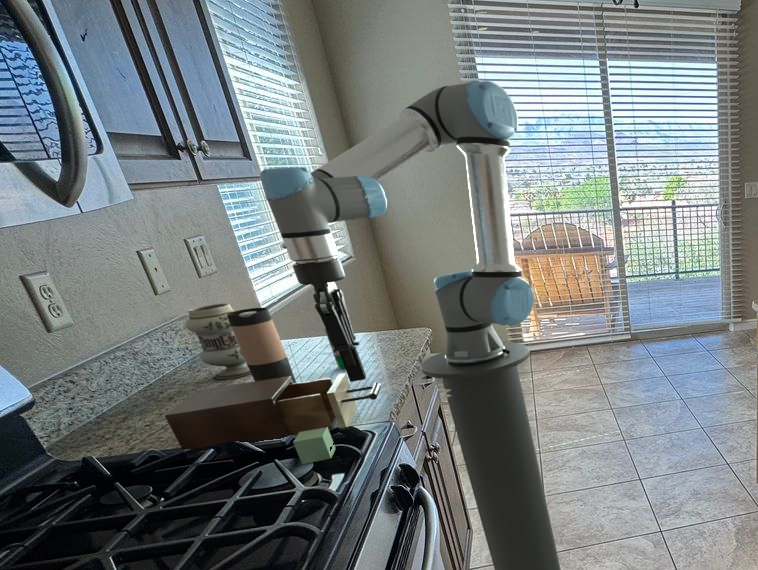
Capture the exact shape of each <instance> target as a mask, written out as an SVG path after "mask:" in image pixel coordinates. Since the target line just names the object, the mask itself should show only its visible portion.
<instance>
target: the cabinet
mask: <svg viewBox="0 0 758 570" xmlns="http://www.w3.org/2000/svg"><path fill="white" fill-rule="evenodd" d="M289 384H293V381H292V378H291V376H288V377H282V378H275V379H269V380H262V381H255V380H254V381H250V382H249V381H248V382H243V383H237V384H236V383H235V384H230V385H222V386H215V387H209V388H202V389H196V390H194V391H193V392H192V393H191V394H190V395H188V396H187V397H186V398H185V399H183V400H181V402H180V403H178V404H177V405H176V406H175V407H173V408H172V409H171V410H170V411H169V412H167V413H166V414H165V415H164V417H165V419H166V422H167V423H168V424H169V427H170V429H171V430H172V431H171V432H172V433H173V434H174V436H175V438H176V440H177V442H178V444H179V446H180V448H181V450H182V451H183V450H185V449H194V448H204V447H209V446H210V445H215V444H220V443H226V442H234V441H239V442H249V443H255V442H259V441H264V440H273V439H281V438H284V437H287V436H289V434H288V432H287V429H286V427H285V424H284V422H283V420H282V417H281V415H280V412H279V410H278V408H277V405H276V403H275V400H276V399H277V398H278V397H279V395H280V394H281V393H282V392H283V391H284V389H285V388H286V387H287V386H288V385H289ZM239 456H240V455H223V456H218V457H216V458H214V459H213V460H212V461H216V460H222V459H223V460H224V459H228V458H234V457H239Z"/></svg>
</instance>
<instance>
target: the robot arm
mask: <svg viewBox="0 0 758 570" xmlns="http://www.w3.org/2000/svg"><path fill="white" fill-rule="evenodd" d="M398 116H399V118H398V119H397V120H395V121H393V122H392V123H390V124H388V125H386V126H384V127H383V128H381V129H380V130H378V131H377V132H375V133H374V134H372V135H370V136H369V137H367V138H365V139H363V140H362V141H361V142H358V143H357V144H355V145H354V146H352V147H351V148H349V149H347V150H346V151H344V152H342V153H341V154H339V155H337V156H336V157H334V158H332V159H331V160H329V161H327V162H326V163H325V164H322V165H321V166H320V167H318V168H316V169H315V170H313V171H310V170H309V169H308V168H307V167H303V166H300V167H296V166H295V167H277V168H276V167H275V168H264V169H263V170H261V172H260V173H259V178H260V181H261V186H262V189H263V192H264V198H265V200H266V201H267V203H268V205H269V207H270V210H271V212H272V216H273V218H274V220H275V223H276V226H277V228H278V231H279V233H280V236H281V239H282V241H283V242H282V243H281V245H280V246H281V248H282V249H284V250H286V252H287V254H288V257H289V259H290V261H293V262H294V263H293V265H292V269H293V272H294V274H295V276H296V280H297V282H298V283H299V284H300V285H303V286H309V285H311V286H313V291H314V293H313V296H312V297H313V300H314V303H315V304H314V308H315V310H316V311H317V313H318V315H319V317H320V319H321V321H322V323H323V326H324V329H325V328H326V330H327V332H328V334H329V337H330V339H331V341H332V343H333V346H334V349H333V351H334V352H337V351H339V353H340V355H341V358H342V361H343V364H344V366H345V369H344V370H345V372H346V375H347V378H348V381H349V382H350V383H352V382H359V381H364V380H367V374H366V372H365V369H364V365H363V363H362V360H361V359H360V355H359V353H358V349H357V346H360V341H356V336H355V332H354V329H353V326H352V321H351V319H350V315H349V312H348V308H347V305H346V300H345V294H344V292H343V291H342V290H341V288H338V286H337V284H336V282H338V281H342V280H344V279H345V278H346V273H345V271H344V270H345V269H344V268H343V265H342V262H341V259H339V258H337V256H338V255H339V251H338V249H337V246H336V243H335V241H334V237H333V234H332V233H331V229H330V226H329V223H336V222H345V221H354V220H364V219H369V220H370V219H372V218H377V217H381V216H383V215H384V214H385V213H386V210H387V207H388V200H387V197H386V193H385V190H384V189H383V186H382V185H381V183H379V182H380V181H382V180H384V179H385V178H386V177H388V176H390V175H391V174H392V173H394V172H395V171H397V170H398V169H400V168H401V167H402V166H405V165H406V164H407V163H409V162H410V161H412V160H413V159H415V158H416V157H418V156H420V155H421V154H422V153H424V152H426V153H433V152H434V151H436V150H437V149H439V148H442V147H443V146H448V145H452V144H456V149H458V150H459V151H460V152H461V153H462V154H463V155H464V159H465V166H466V167H465V168H466V177H467V185H468V186H467V187H468V191H469V192H468V193H469V194H468V195H469V203H470V210H471V221H472V227H473V235H474V236H473V237H474V245H475V252H476V253H475V254H476V264H475V265H474V267H472V268H471V269H466V270H460V271H456V272H451V273H450V272H449V273H447V274H442V275H438V276H436V277H434V280H433V287H434V294H435V295H436V299H437V302H438V303H437V304H438V308H439V310H440V314H441V318H442V321H443V324H444V328H445V333H446V336H445V337H446V339H445V348H444V349H445V350H444V351H445V358H446V361H447V363H448V364H450V365H454V366H470V365H478V364H483V363H487V362H491V361H494V360H497V359H499V358H501V357H502V356H504V355H505V353H507V354H509V353H510V351H509V350H506V349H505V348H504V345H503V343H502V342H503V341H502V340H501V338H500V337H499V335H498V333H497V332H496V330H495V329H494V326H493V324H495V325H500V326H515V325H519V324H522V323H523V322H525V320H527V319H528V316H529V315H530V314H531V313H532V311H533V307H534V304H535V303H534V302H535V295H534V294H535V293H534V290H533V288H532V286H531V285H530V283H529V282H528V281H527V280H525V279H524V278H523V274H522V272H523V271H522V269H521V268H520V266H518V265H517V264H516V262H515V255H514V246H513V245H514V244H513V235H512V225H511V224H512V223H511V214H510V204H509V193H508V182H507V174H506V173H507V172H506V162H505V161H506V160H505V157H506V156H507V155H508V154H509V153H510V152H511V146H510V145H511V144H510V139H512V138H513V137H514V136H515V135H516V132H517V131H518V129H519V116H518V111H517V108H516V106H515V103H514V102H513V99H512V98H511V97H510V96H509V95H508V93H507V91H506V90H505V89H504V88H503V87H502V86H501V85H499V84H497V83H495V82H493V81H489V80H483V81H482V80H481V81H479V80H472V81H470V82H464V83H458V84H451V85H444V86H441V87H437V88H436V89H433V90H432V91H429V92H428V93H427V94H425V95H424V96H422V97H420V98H419V99H418V100H416V101H415V102H413V103H411V104H410V105H408V106H407V107H405V108H403V109H402V110H401V111H400V112H399V115H398ZM353 346H354V347H353ZM333 351H332V352H333Z"/></svg>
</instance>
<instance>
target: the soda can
mask: <svg viewBox="0 0 758 570" xmlns="http://www.w3.org/2000/svg"><path fill="white" fill-rule="evenodd" d="M324 331H325V334H326V337H327V340H328V343H329V346H330V349H331V352H332V354H333V357H334V360H335V362H336V366H337V368H339V369H340V370H346V369H345V366H344V364H343V361H342V358H341V355H340V353H339V351H337V352H334V351H333V349H334V346H333V343H332V341H331V339H330V337H329V334H328V332H327V330H326V328H325V327H324ZM353 347H355V346H353Z"/></svg>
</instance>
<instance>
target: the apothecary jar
mask: <svg viewBox="0 0 758 570" xmlns="http://www.w3.org/2000/svg"><path fill="white" fill-rule="evenodd" d="M234 311H235V310H234V309H233V307H232V306H231V304H230V303H214V304H207V305H202V306H197V307H193V308H190V309H188V310H187V312H188V317H189V318H188V319H187V320H186V322H185V327H186V329H187V330H188V331H189V332H191V333H195V336H196V337H197V339H198V341H199V344H200V345H201V348H202V351H201V352H200V353H199V354H200V355H199V358H200V360H201V361H202V362H203V363H205V364H207V365H210V366H214V367H225V368H223V369H221V370H220V371H219V372H217V373H216V374H215V375H214V378H215V379H217V380H229V379H235V378H236V379H237V378H241V377H244V376H248V375H252V374H251V372H250V370H249V368H248V366H247V363H246V361H245V359H244V356H243V354H242V351H241V349H240V347H239V344H238V342H237V339H236V337H235V334H234V332H233V330H232V327H231V325H230V322H229V320H228V318H227V314H228V313H231V312H234Z"/></svg>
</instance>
